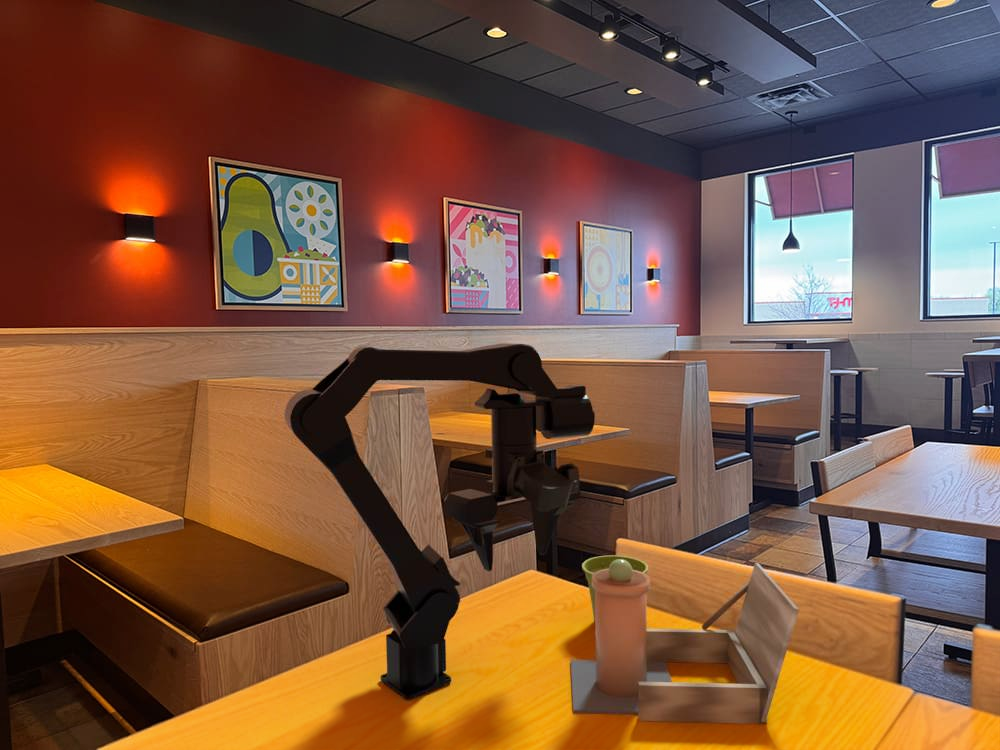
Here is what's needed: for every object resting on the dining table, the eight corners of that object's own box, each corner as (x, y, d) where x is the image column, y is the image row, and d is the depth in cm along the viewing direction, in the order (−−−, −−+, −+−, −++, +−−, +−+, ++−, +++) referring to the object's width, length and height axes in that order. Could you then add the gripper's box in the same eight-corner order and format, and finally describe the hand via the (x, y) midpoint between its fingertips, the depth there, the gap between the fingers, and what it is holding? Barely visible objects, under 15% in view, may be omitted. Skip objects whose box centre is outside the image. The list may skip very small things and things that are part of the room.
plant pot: (630, 644, 95) (629, 581, 95) (570, 627, 101) (570, 568, 100) (659, 620, 103) (659, 562, 102) (602, 606, 108) (601, 551, 108)
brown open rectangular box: (639, 720, 77) (638, 606, 76) (624, 655, 92) (624, 559, 91) (797, 724, 75) (798, 608, 75) (756, 658, 91) (757, 560, 90)
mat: (573, 712, 78) (573, 710, 78) (570, 661, 90) (570, 659, 90) (682, 715, 78) (682, 712, 78) (665, 663, 90) (665, 661, 89)
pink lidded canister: (624, 705, 79) (624, 573, 78) (580, 682, 84) (579, 559, 83) (662, 685, 84) (661, 560, 83) (618, 665, 89) (617, 547, 88)
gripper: (497, 459, 77) (500, 598, 78) (611, 440, 89) (612, 561, 90) (439, 447, 86) (442, 573, 87) (550, 431, 98) (551, 542, 99)
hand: (516, 562), depth 90 cm, fingers open, 9 cm apart
